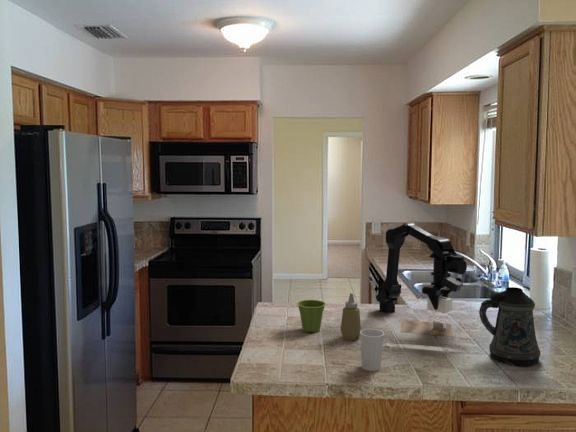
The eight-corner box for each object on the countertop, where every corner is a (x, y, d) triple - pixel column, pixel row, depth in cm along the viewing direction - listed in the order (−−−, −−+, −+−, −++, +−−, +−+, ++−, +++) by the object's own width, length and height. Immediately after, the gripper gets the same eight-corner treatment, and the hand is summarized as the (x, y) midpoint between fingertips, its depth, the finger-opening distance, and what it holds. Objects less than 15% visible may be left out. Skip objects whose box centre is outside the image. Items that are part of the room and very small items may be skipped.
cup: (356, 362, 172) (357, 329, 171) (379, 362, 173) (380, 328, 171) (362, 372, 164) (363, 337, 163) (386, 371, 165) (387, 336, 163)
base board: (400, 335, 199) (400, 332, 199) (401, 323, 214) (401, 320, 214) (453, 340, 194) (453, 336, 194) (450, 327, 210) (450, 323, 209)
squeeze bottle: (362, 336, 198) (363, 291, 196) (358, 343, 191) (359, 297, 189) (342, 334, 201) (343, 290, 199) (338, 340, 193) (338, 295, 191)
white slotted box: (445, 313, 197) (445, 300, 197) (427, 309, 203) (427, 296, 202) (452, 310, 201) (452, 297, 201) (434, 306, 207) (434, 294, 206)
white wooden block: (442, 330, 201) (443, 323, 200) (432, 328, 204) (433, 321, 203) (445, 329, 202) (446, 322, 202) (435, 327, 205) (435, 319, 205)
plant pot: (329, 327, 209) (329, 301, 207) (319, 336, 198) (319, 308, 197) (303, 323, 213) (303, 298, 212) (292, 332, 203) (292, 305, 202)
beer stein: (551, 364, 171) (555, 293, 169) (503, 371, 166) (507, 297, 163) (516, 347, 187) (519, 282, 184) (471, 352, 182) (474, 285, 179)
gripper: (448, 276, 188) (447, 317, 190) (470, 269, 201) (469, 307, 203) (421, 272, 196) (420, 311, 197) (444, 265, 209) (443, 302, 211)
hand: (439, 308), depth 202 cm, fingers closed on white slotted box, 6 cm apart
